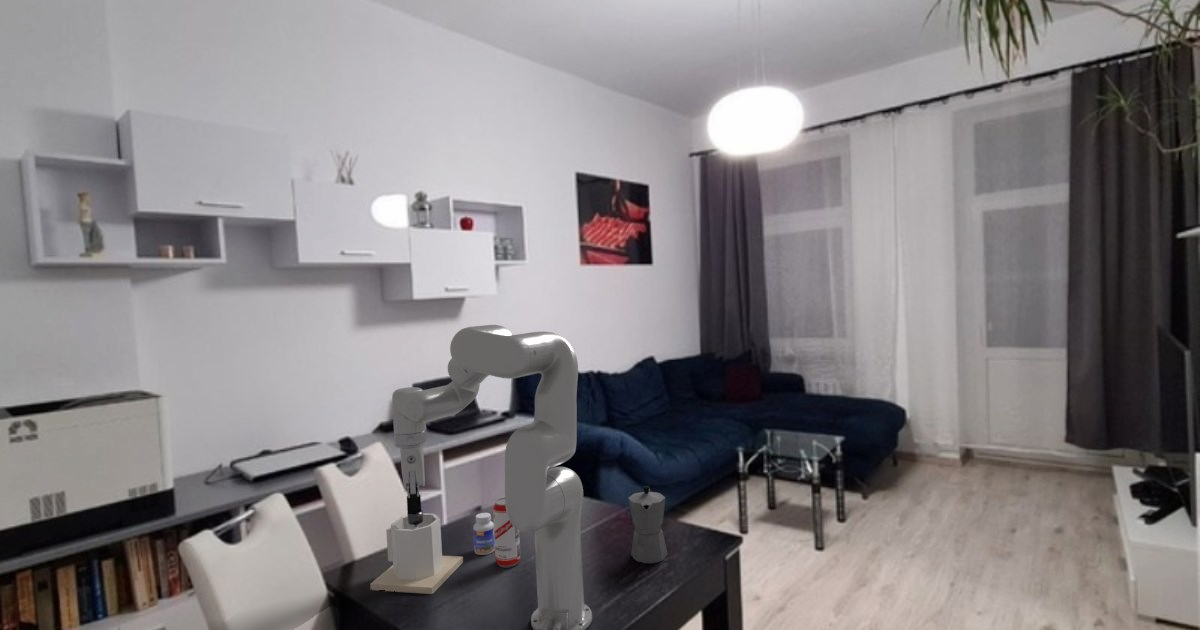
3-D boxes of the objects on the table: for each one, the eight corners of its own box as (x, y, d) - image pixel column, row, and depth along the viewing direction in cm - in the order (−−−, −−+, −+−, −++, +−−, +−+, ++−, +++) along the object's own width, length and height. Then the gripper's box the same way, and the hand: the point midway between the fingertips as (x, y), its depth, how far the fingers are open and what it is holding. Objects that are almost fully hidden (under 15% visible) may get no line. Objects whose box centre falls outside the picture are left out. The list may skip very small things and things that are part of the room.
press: (432, 594, 134) (429, 536, 133) (370, 589, 137) (367, 533, 137) (463, 562, 149) (460, 510, 149) (406, 559, 153) (403, 508, 152)
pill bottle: (475, 557, 152) (473, 520, 152) (474, 548, 158) (472, 513, 157) (496, 553, 154) (494, 517, 154) (494, 545, 159) (492, 510, 159)
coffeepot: (668, 567, 141) (665, 494, 141) (629, 567, 142) (626, 495, 142) (667, 541, 157) (664, 474, 156) (632, 541, 157) (629, 475, 157)
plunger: (425, 578, 138) (421, 519, 138) (393, 576, 140) (390, 518, 140) (442, 562, 147) (438, 506, 146) (411, 560, 148) (408, 505, 148)
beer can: (515, 569, 144) (512, 505, 144) (492, 568, 145) (488, 505, 145) (524, 558, 150) (520, 497, 150) (501, 557, 152) (498, 496, 151)
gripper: (427, 443, 136) (431, 520, 137) (425, 430, 151) (429, 500, 151) (393, 447, 134) (397, 525, 135) (395, 433, 148) (399, 504, 149)
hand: (414, 512), depth 143 cm, fingers closed
